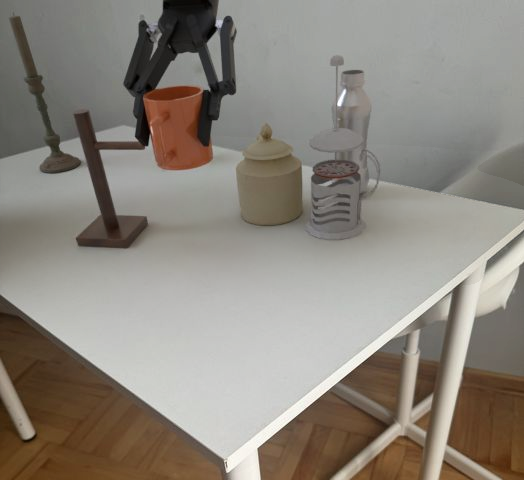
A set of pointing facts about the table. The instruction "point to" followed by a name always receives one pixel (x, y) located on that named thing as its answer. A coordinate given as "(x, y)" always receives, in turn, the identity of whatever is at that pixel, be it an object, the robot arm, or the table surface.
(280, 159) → the sugar bowl
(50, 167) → the candlestick holder
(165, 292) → the table surface
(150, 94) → the mug
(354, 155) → the silver metal bottle
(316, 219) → the french press
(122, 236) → the mug stand
